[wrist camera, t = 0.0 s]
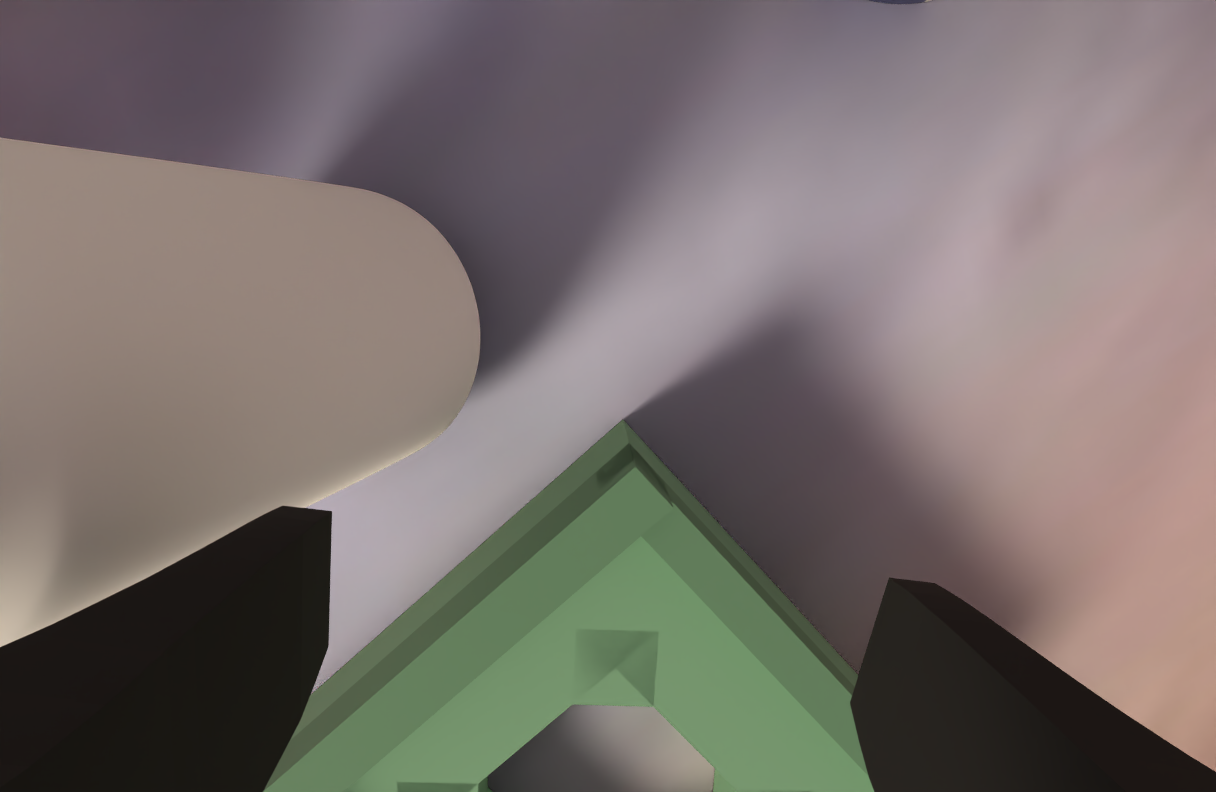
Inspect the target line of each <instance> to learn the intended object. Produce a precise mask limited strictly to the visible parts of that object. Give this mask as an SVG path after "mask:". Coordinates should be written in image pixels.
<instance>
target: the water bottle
mask: <svg viewBox="0 0 1216 792" xmlns="http://www.w3.org/2000/svg"><path fill="white" fill-rule="evenodd" d="M870 1H875V2H881V3H890V4H911V3H921V2H927V1H932V0H870Z"/></svg>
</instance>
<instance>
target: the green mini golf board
mask: <svg viewBox="0 0 1216 792" xmlns="http://www.w3.org/2000/svg"><path fill="white" fill-rule="evenodd" d="M857 678H858V674H857V673H856V672H855V671H854V670H853V669H852V668H851V667H850V666H849V665H848V663H847V662H846V661H845V660H844V659H843V658H842V657H841V656H840V655H839V654H838V653H837V652H836V650H835V649H834V648H833V647H832V646H831V645H830V644H829V643H828V642H827V641H826V640H825V639H824V637H823V636H822V635H821V634H820V633H819V632H818V631H817V630H816V629H815V628H814V627H813V625H812V624H811V623H810V622H809V621H808V620H807V619H806V618H805V617H804V616H803V615H802V614H801V612H800V611H799V610H798V609H797V608H796V607H795V606H794V605H793V604H792V603H791V602H790V600H789V599H788V598H787V597H786V596H785V595H784V594H783V593H782V592H781V591H780V590H779V589H778V587H777V586H776V585H775V584H774V583H773V582H772V581H771V580H770V579H769V578H768V577H767V575H766V574H765V573H764V572H763V571H762V570H761V569H760V568H759V567H758V566H757V565H756V564H755V562H754V561H753V560H752V559H751V558H750V557H749V556H748V555H747V554H746V553H745V552H744V550H743V549H742V548H741V547H740V546H739V545H738V544H737V543H736V542H735V541H734V540H733V539H732V537H731V536H730V535H729V534H728V533H727V532H726V531H725V530H724V529H723V528H722V527H721V526H720V524H719V523H718V522H717V521H716V520H715V519H714V518H713V517H712V516H711V515H710V514H709V512H708V511H707V510H706V509H705V508H704V507H703V506H702V505H701V504H700V503H699V502H698V501H697V499H696V498H695V497H694V496H693V495H692V494H691V493H690V492H689V491H688V490H687V489H686V487H685V486H684V485H683V484H682V483H681V482H680V481H679V480H678V479H677V478H676V477H675V476H674V474H673V473H672V472H671V471H670V470H669V469H668V468H667V467H666V466H665V465H664V464H663V462H662V461H661V460H660V459H659V458H658V457H657V456H656V455H655V454H654V453H653V452H652V451H651V449H650V448H649V447H648V446H647V445H646V444H645V443H644V442H643V441H642V440H641V439H640V437H639V436H638V435H637V434H636V433H635V432H634V431H633V430H632V429H631V428H630V427H629V426H628V424H627V423H626V422H625V421H624V420H622V421H621V422H619V423H618V424H617V425H616V426H615V427H614V428H613V429H611V430H610V431H609V432H608V433H607V434H606V435H605V436H604V437H602V438H601V439H600V440H599V441H598V442H597V443H596V444H594V445H593V446H592V447H591V448H590V449H589V450H588V451H587V452H585V453H584V454H583V455H582V456H581V457H580V458H579V459H577V460H576V461H575V462H574V463H573V464H572V465H571V466H570V467H568V468H567V469H566V470H565V471H564V472H563V473H562V474H560V475H559V476H558V477H557V478H556V479H555V480H554V481H553V482H551V483H550V484H549V485H548V486H547V487H546V488H545V489H543V490H542V491H541V492H540V493H539V494H538V495H537V496H536V497H534V498H533V499H532V500H531V501H530V502H529V503H528V504H526V505H525V506H524V507H523V508H522V509H521V510H520V511H519V512H517V513H516V514H515V515H514V516H513V517H512V518H511V519H510V520H508V521H507V522H506V523H505V524H504V525H503V526H502V527H500V528H499V529H498V530H497V531H496V532H495V533H494V534H493V535H491V536H490V537H489V538H488V539H487V540H486V541H485V542H483V543H482V544H481V545H480V546H479V547H478V548H477V549H476V550H474V551H473V552H472V553H471V554H470V555H469V556H468V557H466V558H465V559H464V560H463V561H462V562H461V563H460V564H459V565H457V566H456V567H455V568H454V569H453V570H452V571H451V572H449V573H448V574H447V575H446V576H445V577H444V578H443V579H442V580H440V581H439V582H438V583H437V584H436V585H435V586H434V587H432V588H431V589H430V590H429V591H428V592H427V593H426V594H425V595H423V596H422V597H421V598H420V599H419V600H418V601H417V602H416V603H414V604H413V605H412V606H411V607H410V608H409V609H408V610H406V611H405V612H404V613H403V614H402V615H401V616H400V617H399V618H397V619H396V620H395V621H394V622H393V623H392V624H391V625H389V626H388V627H387V628H386V629H385V630H384V631H383V632H382V633H380V634H379V635H378V636H377V637H376V638H375V639H374V640H372V641H371V642H370V643H369V644H368V645H367V646H366V647H365V648H363V649H362V650H361V651H360V652H359V653H358V654H357V655H355V656H354V657H353V658H352V659H351V660H350V661H349V662H348V663H346V664H345V665H344V666H343V667H342V668H341V669H340V670H338V671H337V672H336V673H335V674H334V675H333V676H332V677H331V678H329V679H328V680H327V681H326V682H325V683H324V684H323V685H322V686H320V687H319V688H318V689H317V690H316V691H315V692H314V693H312V694H311V695H310V697H309V700H308V702H307V705H306V707H305V710H304V712H303V715H302V718H301V720H300V722H299V724H298V726H297V728H296V730H295V732H294V734H293V736H292V738H291V739H290V741H289V743H288V745H287V747H286V749H285V751H284V753H283V755H282V757H281V759H280V760H279V762H278V764H277V766H276V768H275V770H274V772H273V774H272V776H271V778H270V780H269V781H268V783H267V785H266V787H265V789H264V791H263V792H493V791H492V790H490V789H489V788H488V775H489V774H490V773H492V772H493V771H494V770H495V769H496V768H498V767H499V766H500V765H501V764H502V763H503V762H505V761H506V760H507V759H508V758H509V757H511V756H512V755H513V754H514V753H515V752H516V751H518V750H519V749H520V748H521V747H522V746H524V745H525V744H526V743H527V742H528V741H530V740H531V739H532V738H533V737H534V736H535V735H537V734H538V733H539V732H540V731H541V730H543V729H544V728H545V727H546V726H547V725H549V724H550V723H551V722H552V721H553V720H554V719H556V718H557V717H558V716H559V715H560V714H562V713H563V712H564V711H565V710H566V709H568V708H569V707H570V706H571V705H572V704H575V705H612V706H648V707H654V708H655V709H656V710H657V711H658V712H659V713H660V714H661V715H662V716H663V717H664V718H665V719H666V720H667V721H668V722H669V723H670V724H671V725H672V726H673V727H674V728H675V729H676V730H677V731H678V732H679V733H680V734H681V735H682V736H683V737H684V738H685V739H686V740H687V741H688V742H689V743H690V744H691V745H692V746H693V747H694V748H695V749H696V750H697V751H698V752H699V753H700V754H701V755H702V756H703V757H704V758H705V759H706V760H707V761H708V762H709V763H710V764H711V765H712V766H713V767H714V768H715V773H714V784H713V792H874V790H873V787H872V784H871V782H870V779H869V776H868V772H867V769H866V765H865V762H864V758H863V754H862V751H861V747H860V743H859V739H858V735H857V731H856V727H855V722H854V718H853V714H852V710H851V706H850V701H851V698H852V694H853V691H854V688H855V685H856V682H857Z"/></svg>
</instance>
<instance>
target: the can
mask: <svg viewBox="0 0 1216 792" xmlns="http://www.w3.org/2000/svg"><path fill="white" fill-rule="evenodd" d="M479 354H480V321H479V314H478V308H477V303H476V299H475V295H474V292H473V289H472V286H471V283H470V280H469V278H468V276H467V273H466V271H465V269H464V267H463V265H462V263H461V261H460V260H459V258H458V256H457V255H456V253H455V251H454V250H453V248H452V247H451V246H450V244H449V243H448V242H447V240H446V239H445V238H444V237H443V235H442V234H441V233H440V232H439V231H438V230H437V229H436V228H435V227H434V226H433V225H432V224H431V223H430V222H429V221H428V220H426V219H425V218H424V217H423V216H421V215H420V214H419V213H417V212H416V211H414V210H413V209H411V208H410V207H408V206H406V205H404V204H403V203H401V202H399V201H397V200H394V199H392V198H390V197H387V196H385V195H382V194H379V193H376V192H372V191H369V190H365V189H359V188H354V187H348V186H341V185H335V184H328V183H322V182H315V181H308V180H301V179H294V178H287V177H280V176H273V175H266V174H259V173H252V172H245V171H238V170H231V169H224V168H217V167H210V166H203V165H195V164H188V163H181V162H174V161H167V160H159V159H152V158H145V157H138V156H131V155H123V154H116V153H109V152H102V151H94V150H87V149H80V148H72V147H65V146H58V145H50V144H43V143H36V142H28V141H21V140H13V139H6V138H0V647H1V646H4V645H6V644H8V643H11V642H13V641H15V640H18V639H20V638H22V637H25V636H27V635H29V634H32V633H34V632H36V631H38V630H40V629H43V628H45V627H47V626H49V625H52V624H54V623H56V622H58V621H60V620H62V619H64V618H66V617H68V616H70V615H72V614H74V613H76V612H78V611H80V610H83V609H85V608H87V607H89V606H91V605H93V604H95V603H97V602H99V601H101V600H103V599H105V598H107V597H109V596H111V595H113V594H115V593H117V592H119V591H121V590H123V589H125V588H127V587H129V586H132V585H134V584H136V583H138V582H140V581H142V580H144V579H146V578H148V577H149V576H151V575H153V574H155V573H157V572H159V571H161V570H163V569H164V568H166V567H168V566H170V565H172V564H174V563H175V562H177V561H179V560H181V559H183V558H185V557H187V556H188V555H190V554H192V553H194V552H196V551H198V550H200V549H201V548H203V547H205V546H207V545H209V544H211V543H212V542H214V541H216V540H218V539H220V538H221V537H223V536H225V535H227V534H229V533H230V532H232V531H234V530H236V529H238V528H239V527H241V526H243V525H245V524H247V523H249V522H250V521H252V520H254V519H256V518H258V517H260V516H262V515H264V514H266V513H268V512H270V511H272V510H274V509H276V508H278V507H280V506H291V507H299V508H305V507H307V506H309V505H311V504H313V503H315V502H317V501H319V500H321V499H323V498H325V497H327V496H329V495H332V494H334V493H336V492H338V491H340V490H342V489H344V488H346V487H348V486H350V485H352V484H354V483H356V482H358V481H360V480H362V479H364V478H366V477H368V476H370V475H372V474H374V473H376V472H378V471H380V470H382V469H384V468H386V467H388V466H390V465H392V464H394V463H395V462H397V461H399V460H401V459H403V458H405V457H407V456H409V455H411V454H413V453H414V452H416V451H418V450H420V449H421V448H423V447H425V446H426V445H428V444H429V443H430V442H432V441H433V440H434V439H436V438H437V437H438V436H439V435H440V434H441V433H443V432H444V431H445V430H446V429H447V427H448V426H449V425H450V424H451V423H452V422H453V420H454V419H455V418H456V416H457V415H458V413H459V412H460V410H461V409H462V407H463V405H464V403H465V401H466V400H467V397H468V395H469V393H470V391H471V388H472V385H473V382H474V379H475V376H476V372H477V367H478V362H479Z"/></svg>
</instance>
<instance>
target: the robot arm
mask: <svg viewBox="0 0 1216 792" xmlns="http://www.w3.org/2000/svg"><path fill="white" fill-rule="evenodd" d="M331 526H332V511H325V510H316V509H308V508H299V507H291V506H280V507H278V508H276V509H274V510H272V511H270V512H268V513H266V514H264V515H262V516H260V517H258V518H256V519H254V520H252V521H250V522H249V523H247V524H245V525H243V526H241V527H239V528H238V529H236V530H234V531H232V532H230V533H229V534H227V535H225V536H223V537H221V538H220V539H218V540H216V541H214V542H212V543H211V544H209V545H207V546H205V547H203V548H201V549H200V550H198V551H196V552H194V553H192V554H190V555H188V556H187V557H185V558H183V559H181V560H179V561H177V562H175V563H174V564H172V565H170V566H168V567H166V568H164V569H163V570H161V571H159V572H157V573H155V574H153V575H151V576H149V577H148V578H146V579H144V580H142V581H140V582H138V583H136V584H134V585H132V586H129V587H127V588H125V589H123V590H121V591H119V592H117V593H115V594H113V595H111V596H109V597H107V598H105V599H103V600H101V601H99V602H97V603H95V604H93V605H91V606H89V607H87V608H85V609H83V610H80V611H78V612H76V613H74V614H72V615H70V616H68V617H66V618H64V619H62V620H60V621H58V622H56V623H54V624H52V625H49V626H47V627H45V628H43V629H40V630H38V631H36V632H34V633H32V634H29V635H27V636H25V637H22V638H20V639H18V640H15V641H13V642H11V643H8V644H6V645H4V646H1V647H0V792H263V791H264V789H265V787H266V785H267V783H268V781H269V780H270V778H271V776H272V774H273V772H274V770H275V768H276V766H277V764H278V762H279V760H280V759H281V757H282V755H283V753H284V751H285V749H286V747H287V745H288V743H289V741H290V739H291V738H292V736H293V734H294V732H295V730H296V728H297V726H298V724H299V722H300V720H301V718H302V715H303V712H304V710H305V707H306V705H307V702H308V700H309V697H310V695H311V692H312V689H313V687H314V684H315V681H316V679H317V676H318V673H319V671H320V668H321V665H322V662H323V660H324V657H325V654H326V651H327V649H328V641H329V603H330V564H331ZM850 706H851V710H852V714H853V718H854V722H855V727H856V731H857V735H858V739H859V743H860V747H861V751H862V754H863V758H864V762H865V765H866V769H867V772H868V776H869V779H870V782H871V784H872V787H873V790H874V792H1216V772H1215V771H1213V770H1212V769H1210V768H1208V767H1207V766H1205V765H1203V764H1202V763H1200V762H1199V761H1197V760H1195V759H1194V758H1192V757H1190V756H1189V755H1187V754H1186V753H1184V752H1183V751H1181V750H1179V749H1178V748H1176V747H1175V746H1173V745H1172V744H1170V743H1169V742H1167V741H1166V740H1164V739H1163V738H1161V737H1160V736H1158V735H1157V734H1155V733H1153V732H1152V731H1150V730H1149V729H1147V728H1146V727H1144V726H1143V725H1141V724H1140V723H1138V722H1137V721H1135V720H1134V719H1132V718H1130V717H1129V716H1127V715H1126V714H1124V713H1123V712H1121V711H1120V710H1119V709H1117V708H1116V707H1114V706H1113V705H1111V704H1110V703H1108V702H1107V701H1105V700H1104V699H1102V698H1101V697H1100V696H1098V695H1097V694H1095V693H1094V692H1092V691H1091V690H1089V689H1088V688H1087V687H1085V686H1084V685H1082V684H1081V683H1079V682H1078V681H1076V680H1075V679H1074V678H1072V677H1071V676H1069V675H1068V674H1067V673H1065V672H1064V671H1062V670H1061V669H1060V668H1058V667H1057V666H1055V665H1054V664H1052V663H1051V662H1050V661H1048V660H1047V659H1045V658H1044V657H1043V656H1041V655H1040V654H1038V653H1037V652H1036V651H1034V650H1033V649H1031V648H1030V647H1029V646H1027V645H1026V644H1024V643H1023V642H1022V641H1020V640H1019V639H1017V638H1016V637H1015V636H1013V635H1012V634H1011V633H1009V632H1008V631H1006V630H1005V629H1004V628H1002V627H1001V626H999V625H998V624H996V623H995V622H994V621H992V620H991V619H989V618H988V617H987V616H985V615H984V614H982V613H981V612H979V611H978V610H976V609H975V608H973V607H972V606H971V605H969V604H968V603H966V602H965V601H963V600H961V599H960V598H958V597H957V596H955V595H954V594H952V593H950V592H949V591H947V590H945V589H944V588H942V587H940V586H938V585H937V584H935V583H928V582H920V581H911V580H903V579H895V578H889V580H888V583H887V586H886V589H885V593H884V596H883V599H882V602H881V605H880V608H879V612H878V615H877V618H876V621H875V624H874V628H873V631H872V634H871V637H870V640H869V643H868V647H867V650H866V653H865V656H864V659H863V663H862V666H861V669H860V672H859V675H858V678H857V682H856V685H855V688H854V691H853V694H852V698H851V701H850Z"/></svg>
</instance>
